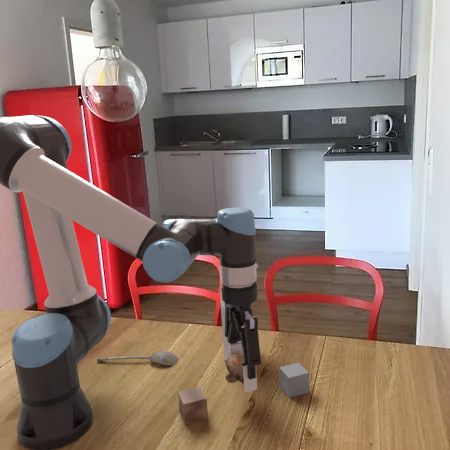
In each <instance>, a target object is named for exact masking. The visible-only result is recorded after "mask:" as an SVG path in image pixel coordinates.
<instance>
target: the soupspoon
mask: <svg viewBox="0 0 450 450" xmlns="http://www.w3.org/2000/svg"><path fill="white" fill-rule="evenodd" d="M133 359H137V360H138V359H141V360H148V361H151V362H153V363H156V364H159V365H164V366H166V367H167V366H168V367H169V366H171V367H173V366H175V365H176V364H178V362H179V357H178V356H177V354H175V353H173V352H171V351H169V350H168V351H167V350H159V351H156V352H154V353H152V354H150V356H149V355H131V356H129V355H128V356H116V357H115V356H113V357H109V356H107V357H100V356H98V357H97V359H96V362H97V363H98V364H99V363H102V362H105V361H111V360H114V361H115V360H133Z"/></svg>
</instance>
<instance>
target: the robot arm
mask: <svg viewBox="0 0 450 450" xmlns="http://www.w3.org/2000/svg"><path fill="white" fill-rule="evenodd" d="M71 153H72V142H71V138H70V135H69V133H68V132H67V130H66V128H65V127H64V126H63V125H62V124H61V123H60V122H58V121H57V120H55V118H54V119H53V118H51V117H49V116H46V115H45V116H44V115H38V114H34V115H33V114H31V115H30V114H29V115H21V116H20V115H19V116H0V185H1V186H3V187H5V188H7V190H9V191H12V192H14V193H20V192H22V195H23V197H24V201H25V205H26V209H27V212H28V217H29V221H30V224H31V229H32V232H33V236H34V240H35V245H36V249H37V251H38V252H37V253H38V256H39V260H40V265H41V268H42V272H43V276H44V280H45V284H46V288H47V291H48V296H47V297H46V299H45V300H44V302H43V304H44V309H45V312H46V313H43V314H41V315H37V316H36V317H35V318H30V319H28V320H26V321H24V322H23V323H22V324H20V325H19V326H18V327H17V329H15V331H14V332H13V335H12V338H11V348H12V349H11V355H12V359H13V361H14V362H13V363H14V367H15V373H16V379H17V382H18V390H19V394H20V399H21V400H20V401H21V404H20V408H19V409H20V410H19V414H18V419H17V425H16V432H17V437H18V441H19V443H20V445H22V446H23V447H24V448H26V449H29V450H56V449H58V448H59V449H60V448H63V447H65V446H67V445H70V444H72V443H74V442H75V441H77V440H78V439H80V438H82V437H83V436H84V435H86V434H87V432H88V431H89V430H90V428H91V426H92V425H93V424H94V423H93V422H94V415H93V408H92V405H91V403H90V401H89V400H88V398H87V396H86V395H85V393H84V391H83V389H82V387H81V384H80V378H79V369H78V365H79V363H80V362H81V361H82V360H83V359H84V358H85V357H86V356H87V355H88V354H89V352H91V351H92V350H93V349H94V348H95V347H96V346H97V345H98V344H100V343H101V342H102V340H103V339H104V337H105V336H106V334H107V333H108V331H109V329H110V327H111V322H112V315H111V310H110V307H109V305H108V304H107V302H106V301H105V300H103V299H102V298H101V296H100V295H98V292H97V289H96V288H94V287H93V286H92V285H89V284H88V280H87V277H86V276H87V275H86V270H85V267H84V263H83V259H82V255H81V251H80V246H79V242H78V239H77V234H76V230H75V225H74V222H75V223H77V224H79V225H80V226H82V227H84V228H85V229H86V230H88V231H90V232H92V233H94V234H96V235H97V236H98V237H100V238H102V239H104V240H105V241H107V242H109V243H111V244H112V245H114V246H116V247H117V248H119V249H121V250H122V251H124V252H126V253H127V254H129V255H131V256H133V257H134V258H136V259H138V260H139V261H140V262H142V264H143V265H142V266H143V269H144V270H145V273H146V274H147V276H149V277H150V278H151V279H152V280H154V281H156V282H159V283H170V282H173V281H175V280H177V279H178V278H179V277H181V276H182V275H183V274H184V273H185V272H186V271H187V270H188V269H189V267H190V266H191V265H192V263H193V262H194V261H195V260H196V258H198V256H219V276H220V282H221V291H222V300H223V301H224V302H225V336H226V337H228V343H230V344H229V357H230V356H231V355H232V354H242V350H243V355H244V361H245V362H244V363H241V364H242V366H243V378H244V384H243V391H244V393H250V392H254V391H257V390H258V376H257V372H258V369H257V370H256V367H257V366H260V365H262V361H261V359H262V358H261V348H260V340H259V329H258V328H259V319H258V318H257V317H253V315H254V314H253V310H252V308H251V305H252V304H254V303H255V302H256V301H257V300H258V283H257V279H258V277H257V269H258V268H259V265H258V263H257V242H256V241H257V234H256V232H257V229H256V224H255V223H256V222H255V214H254V212H253V211H252V210H251V209H250V208H246V207H240V206H239V207H227V208H223V209H220V210H219V211H218V212H217V217H216V218H181V217H180V218H176V219H175V218H173V219H172V218H171V219H166V220H164V221H163V222H162V224H161V223H158V222H156V221H154V220H153V219H151V218H150V217H148V216H146V215H144V214H143V213H141V212H139V211H138V210H137V209H134V208H132V207H131V206H129V205H127V204H126V203H124V202H123V201H121V200H120V199H117V198H115V197H114V196H112V195H111V194H109V193H108V192H106V191H104V190H102V189H101V188H99V187H97V186H95V185H94V184H92V183H90V182H88V181H87V180H85V179H84V178H82V177H80V176H79V175H77V174H76V173H74V172H72V171H70V170H69V169H68V165H67V164H68V163H67V162H68V160H69V157H70V156H71ZM242 326H244V327H243V328H241V327H242ZM238 341H241V343H240V342H239V343H237V342H238ZM241 344H242V349H241Z"/></svg>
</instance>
